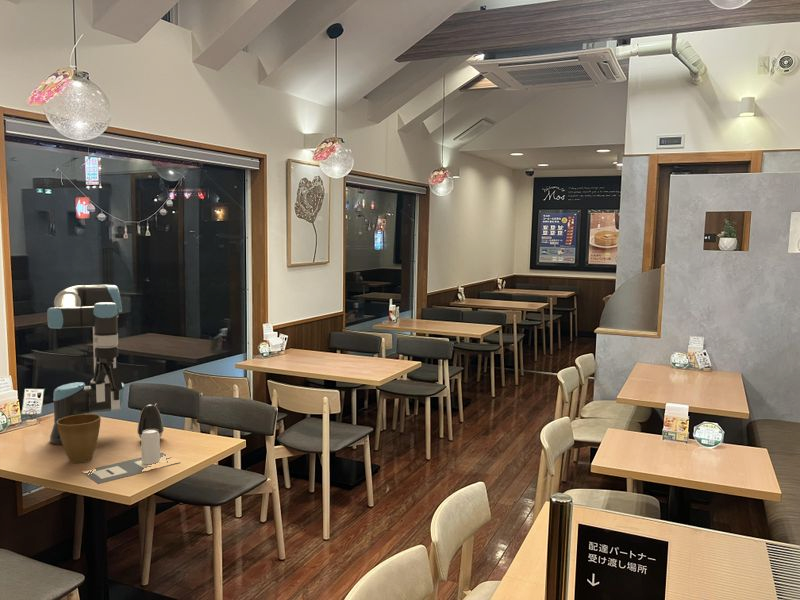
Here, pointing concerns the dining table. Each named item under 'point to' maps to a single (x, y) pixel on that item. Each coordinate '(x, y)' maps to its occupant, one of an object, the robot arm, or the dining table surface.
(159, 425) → the pump dispenser
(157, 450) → the can
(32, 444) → the dining table surface
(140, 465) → the label panel
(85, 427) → the plant pot
